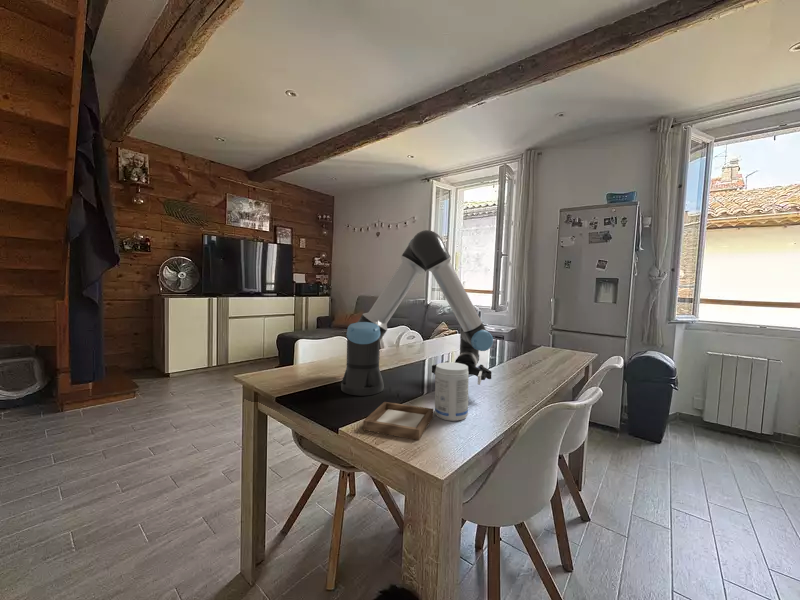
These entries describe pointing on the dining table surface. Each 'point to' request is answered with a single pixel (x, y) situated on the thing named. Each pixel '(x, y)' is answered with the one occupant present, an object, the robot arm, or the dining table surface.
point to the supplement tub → (451, 391)
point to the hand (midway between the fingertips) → (457, 378)
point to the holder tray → (399, 420)
